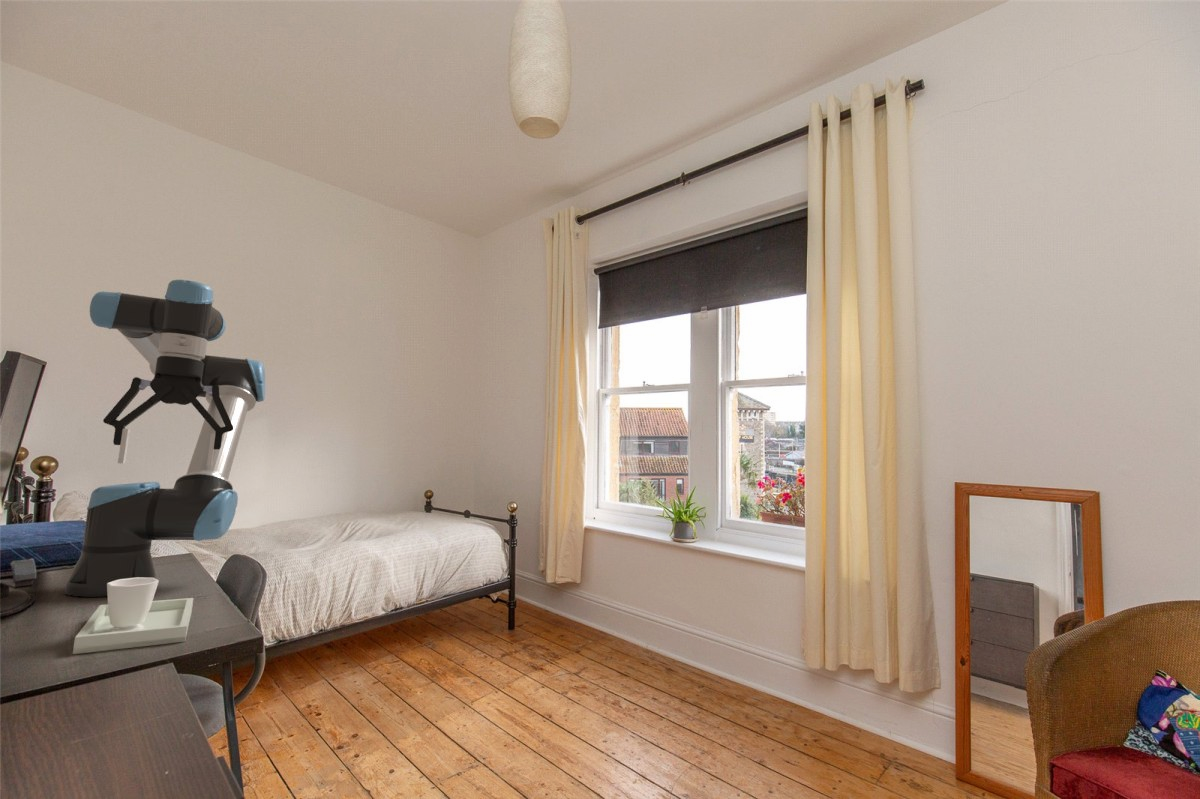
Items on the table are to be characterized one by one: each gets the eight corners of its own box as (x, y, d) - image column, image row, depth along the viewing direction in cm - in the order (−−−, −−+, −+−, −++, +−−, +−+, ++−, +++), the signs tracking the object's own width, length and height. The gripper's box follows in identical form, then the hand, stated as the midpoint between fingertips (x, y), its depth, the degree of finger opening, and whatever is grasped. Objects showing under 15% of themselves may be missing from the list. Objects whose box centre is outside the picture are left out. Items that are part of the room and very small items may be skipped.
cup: (94, 638, 90) (101, 587, 91) (109, 621, 98) (115, 574, 99) (148, 633, 93) (155, 584, 94) (158, 617, 102) (164, 572, 103)
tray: (98, 618, 101) (100, 605, 102) (191, 610, 109) (193, 597, 109) (72, 654, 85) (75, 637, 85) (185, 641, 93) (187, 626, 93)
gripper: (94, 345, 100) (76, 462, 98) (255, 364, 114) (242, 467, 111) (102, 350, 106) (85, 461, 104) (254, 368, 120) (242, 466, 118)
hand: (166, 464), depth 108 cm, fingers open, 13 cm apart
